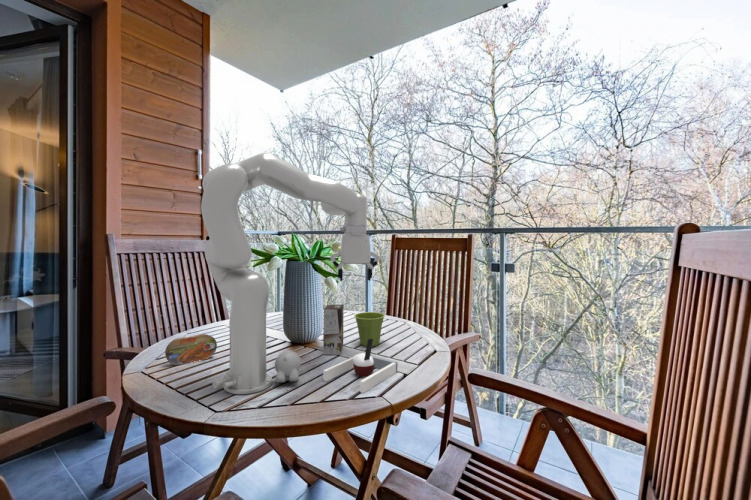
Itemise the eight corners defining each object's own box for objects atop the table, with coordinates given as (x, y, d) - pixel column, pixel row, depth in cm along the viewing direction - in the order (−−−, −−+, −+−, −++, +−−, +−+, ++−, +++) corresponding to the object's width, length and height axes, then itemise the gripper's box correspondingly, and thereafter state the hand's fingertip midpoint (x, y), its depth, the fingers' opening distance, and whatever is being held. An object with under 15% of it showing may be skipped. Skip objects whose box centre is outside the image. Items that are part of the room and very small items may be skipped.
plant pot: (360, 338, 143) (361, 311, 142) (388, 341, 139) (388, 313, 138) (349, 346, 132) (349, 317, 131) (379, 350, 128) (379, 319, 127)
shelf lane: (363, 393, 93) (363, 381, 92) (323, 380, 100) (323, 370, 100) (397, 371, 107) (397, 362, 107) (360, 362, 115) (360, 353, 115)
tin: (166, 368, 109) (165, 341, 109) (164, 365, 112) (164, 339, 111) (217, 357, 119) (217, 333, 118) (214, 355, 121) (214, 331, 121)
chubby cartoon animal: (301, 381, 106) (302, 352, 109) (299, 381, 95) (300, 349, 98) (276, 382, 105) (278, 353, 108) (272, 382, 94) (274, 349, 97)
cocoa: (353, 371, 109) (352, 332, 109) (373, 369, 109) (372, 331, 109) (353, 382, 99) (352, 340, 100) (375, 381, 100) (374, 338, 100)
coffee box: (341, 355, 122) (341, 309, 122) (322, 354, 122) (322, 309, 122) (343, 347, 131) (344, 304, 131) (326, 346, 132) (327, 304, 131)
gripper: (330, 230, 116) (330, 282, 116) (382, 231, 118) (381, 281, 119) (329, 230, 123) (329, 279, 124) (378, 231, 126) (377, 278, 126)
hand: (355, 280), depth 121 cm, fingers open, 9 cm apart
